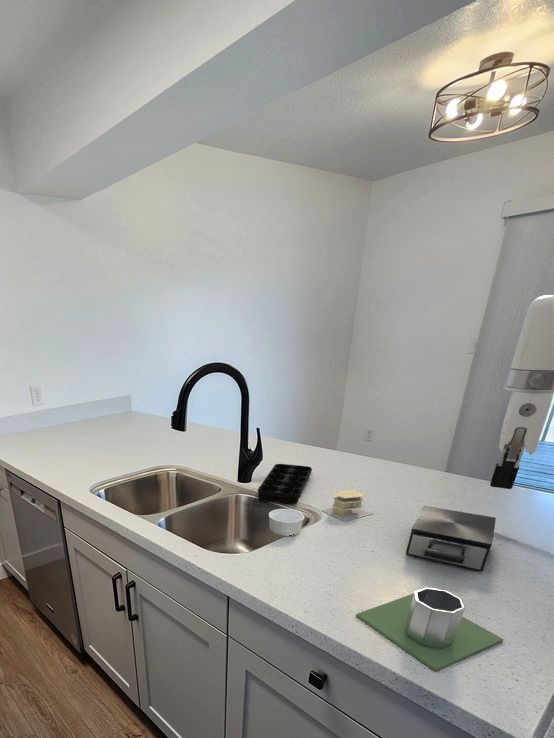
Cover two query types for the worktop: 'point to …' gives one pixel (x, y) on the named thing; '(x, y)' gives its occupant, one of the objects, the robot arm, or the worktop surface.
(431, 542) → the drawer
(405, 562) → the worktop surface
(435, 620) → the cup
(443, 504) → the worktop surface
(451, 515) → the box
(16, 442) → the worktop surface
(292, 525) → the ramekin
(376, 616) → the mat
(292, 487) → the egg carton
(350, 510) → the stacked layers on plate
